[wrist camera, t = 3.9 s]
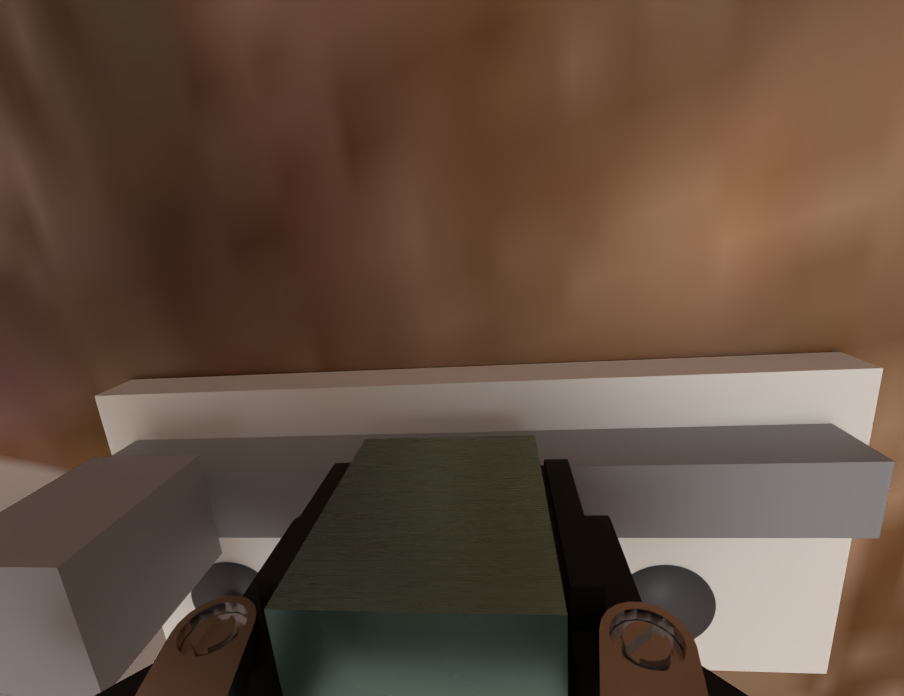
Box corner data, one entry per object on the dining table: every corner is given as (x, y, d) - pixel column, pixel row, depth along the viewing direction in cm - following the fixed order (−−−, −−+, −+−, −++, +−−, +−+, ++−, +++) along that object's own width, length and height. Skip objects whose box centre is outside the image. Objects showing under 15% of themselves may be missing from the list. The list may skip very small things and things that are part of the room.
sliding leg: (382, 409, 13) (263, 609, 6) (529, 404, 12) (567, 615, 6) (409, 626, 15) (339, 952, 8) (535, 629, 14) (569, 976, 8)
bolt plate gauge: (131, 379, 15) (-187, 519, 8) (840, 351, 13) (1260, 513, 6) (196, 619, 18) (-2, 883, 11) (796, 632, 16) (1049, 980, 9)
